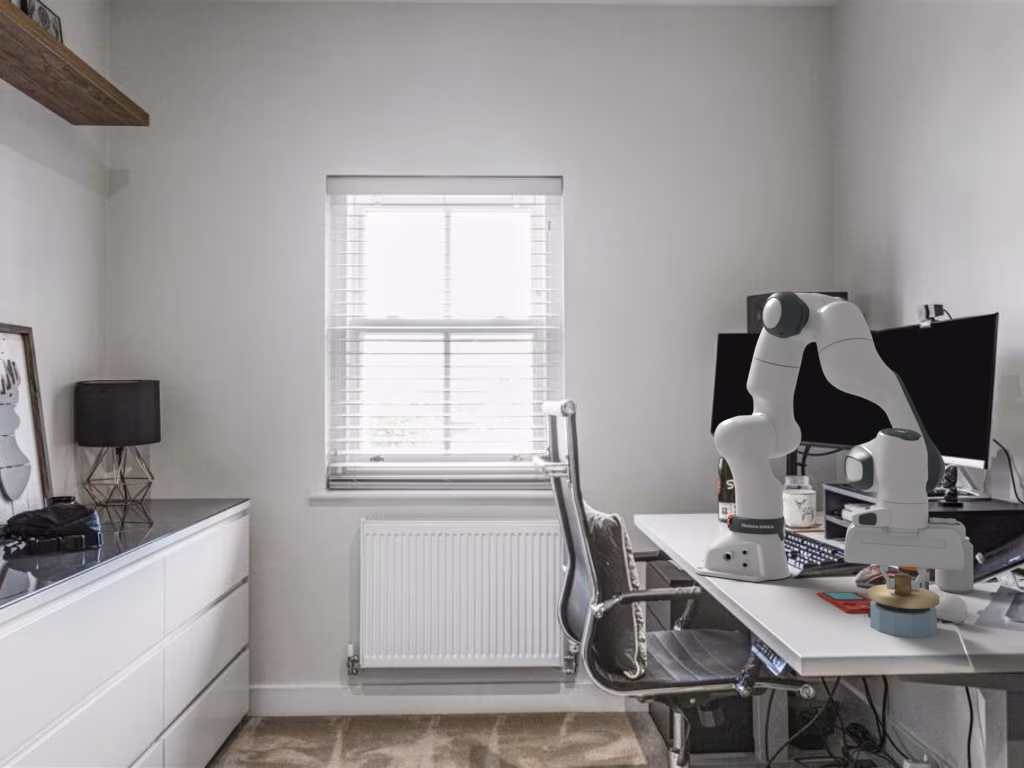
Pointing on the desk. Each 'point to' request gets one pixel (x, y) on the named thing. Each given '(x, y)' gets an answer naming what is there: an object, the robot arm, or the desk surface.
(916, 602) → the lid
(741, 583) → the desk surface
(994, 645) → the desk surface
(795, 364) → the robot arm
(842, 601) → the handheld gaming console
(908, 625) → the bowl
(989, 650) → the desk surface
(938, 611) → the white rounded lump
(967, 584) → the can
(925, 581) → the supplement bottle
